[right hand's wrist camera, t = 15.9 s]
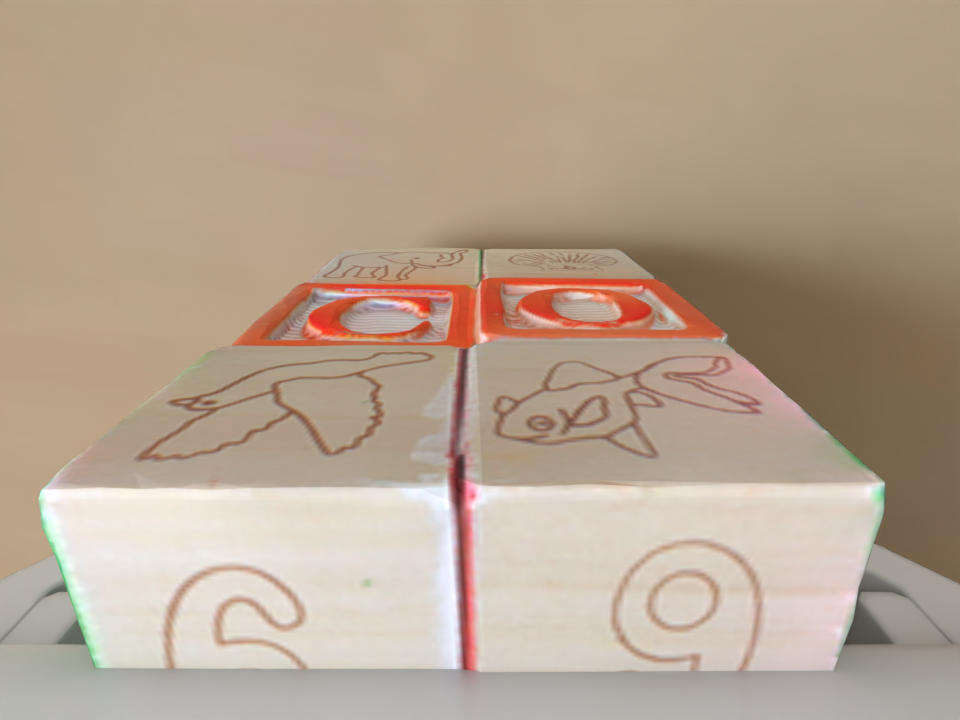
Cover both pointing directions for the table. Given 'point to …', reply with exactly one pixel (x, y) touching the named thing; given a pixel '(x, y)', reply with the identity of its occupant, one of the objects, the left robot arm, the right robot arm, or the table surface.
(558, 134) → the table surface
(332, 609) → the stack of blocks
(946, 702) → the right robot arm
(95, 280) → the table surface
